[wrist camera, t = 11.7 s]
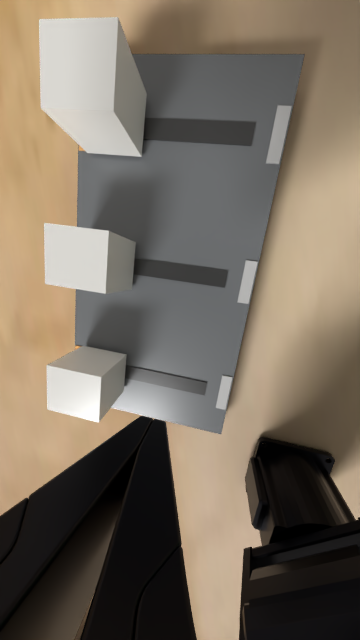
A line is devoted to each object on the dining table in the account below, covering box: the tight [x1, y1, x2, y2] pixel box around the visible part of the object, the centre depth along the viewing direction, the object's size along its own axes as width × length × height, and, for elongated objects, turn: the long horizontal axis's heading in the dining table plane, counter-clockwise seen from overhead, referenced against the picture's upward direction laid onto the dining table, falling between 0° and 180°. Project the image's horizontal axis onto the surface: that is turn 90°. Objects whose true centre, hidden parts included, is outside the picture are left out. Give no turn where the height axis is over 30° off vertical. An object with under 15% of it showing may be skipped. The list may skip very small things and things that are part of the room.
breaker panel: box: [75, 54, 305, 434], centre depth 16 cm, size 14×26×2 cm, turn 172°
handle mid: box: [44, 223, 136, 294], centre depth 14 cm, size 4×4×4 cm
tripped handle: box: [39, 17, 147, 157], centre depth 12 cm, size 4×4×4 cm
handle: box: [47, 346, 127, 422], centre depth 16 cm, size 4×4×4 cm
